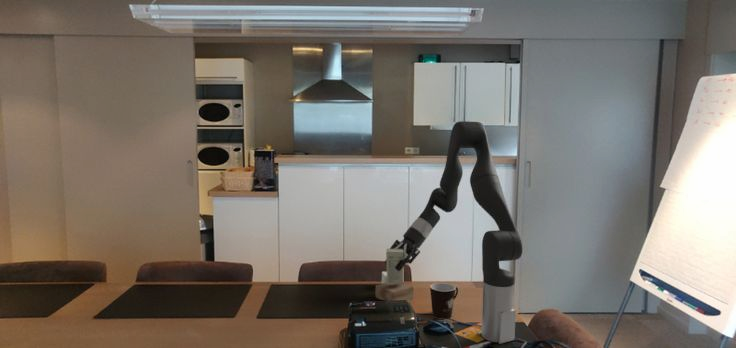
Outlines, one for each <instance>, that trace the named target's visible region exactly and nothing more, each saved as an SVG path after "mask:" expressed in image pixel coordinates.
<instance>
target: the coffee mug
mask: <svg viewBox="0 0 736 348" xmlns="http://www.w3.org/2000/svg"><path fill="white" fill-rule="evenodd" d="M429 290H430V299H431V300H430V301H431V311H432V317H433V318H435V317H437V318H436V319H438V318H449V319H452V315H453V310H454V309H453V308H454V302H455V299H456V298H457V296H458V293H459V288H458V287H457V286H456V285H453V284H452V283H451V284H450V283H446V282H445V283H444V282H436V283H433V284H431V285H429Z"/></svg>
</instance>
